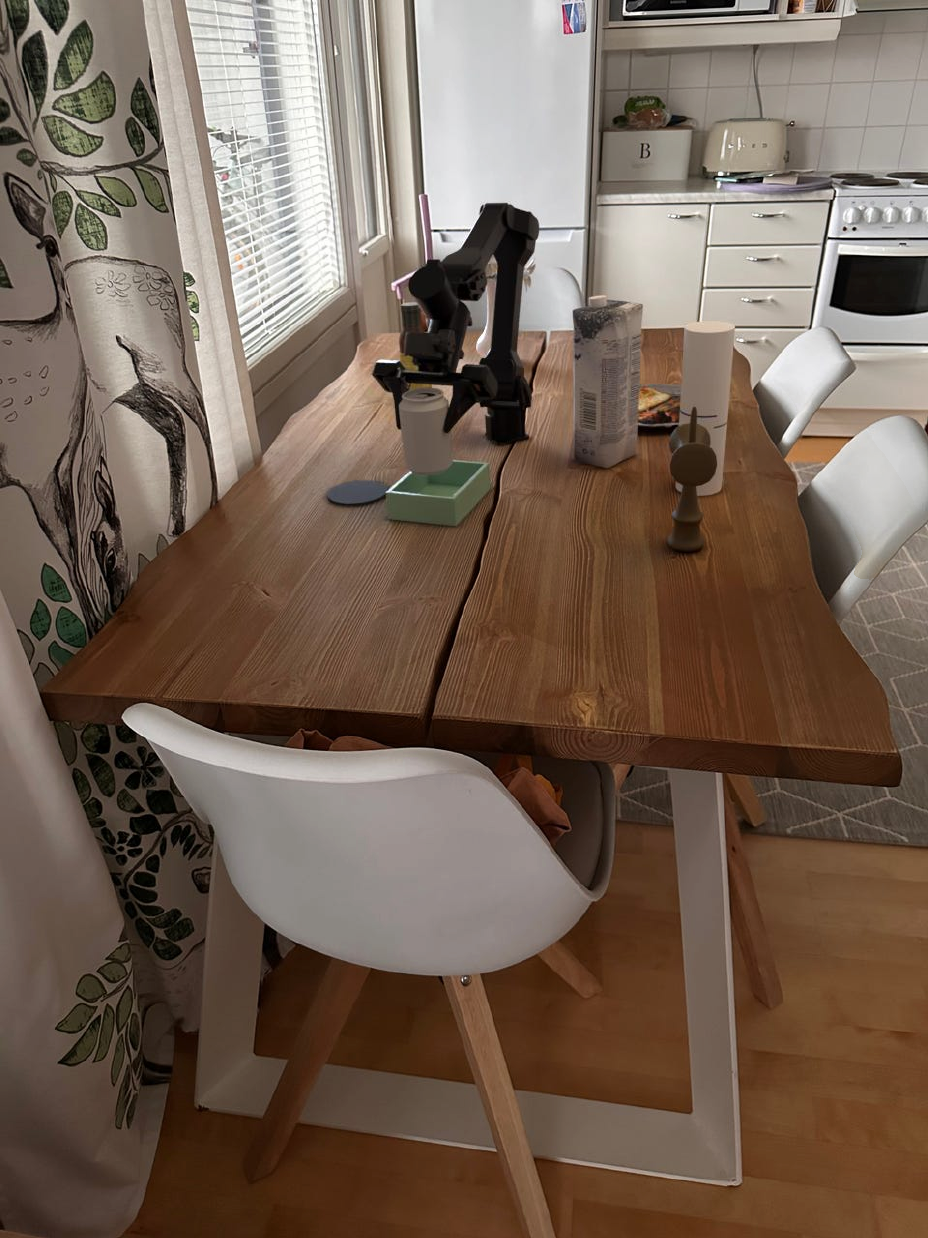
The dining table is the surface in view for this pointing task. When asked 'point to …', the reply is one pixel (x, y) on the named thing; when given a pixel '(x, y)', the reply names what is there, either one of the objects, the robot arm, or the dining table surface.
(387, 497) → the green open box
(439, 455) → the can
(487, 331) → the flower vase
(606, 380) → the juice carton
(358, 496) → the coaster
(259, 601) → the dining table surface
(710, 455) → the kendama
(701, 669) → the dining table surface
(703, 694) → the dining table surface
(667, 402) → the food plate
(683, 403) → the cylindrical container
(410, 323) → the sauce bottle
